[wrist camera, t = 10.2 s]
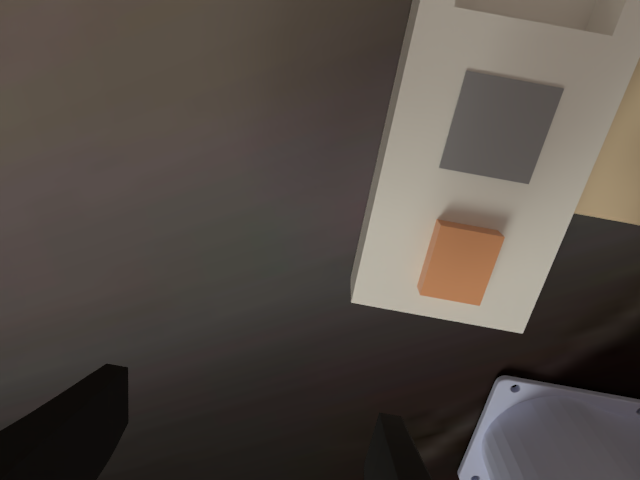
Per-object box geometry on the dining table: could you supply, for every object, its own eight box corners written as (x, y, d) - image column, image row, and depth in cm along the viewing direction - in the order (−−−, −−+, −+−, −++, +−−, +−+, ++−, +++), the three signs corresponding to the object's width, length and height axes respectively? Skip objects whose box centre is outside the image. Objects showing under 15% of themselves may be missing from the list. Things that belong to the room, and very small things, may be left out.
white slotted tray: (734, -289, 13) (858, -407, 10) (502, 305, 21) (529, 344, 18) (487, -336, 13) (532, -470, 10) (350, 278, 21) (351, 311, 18)
